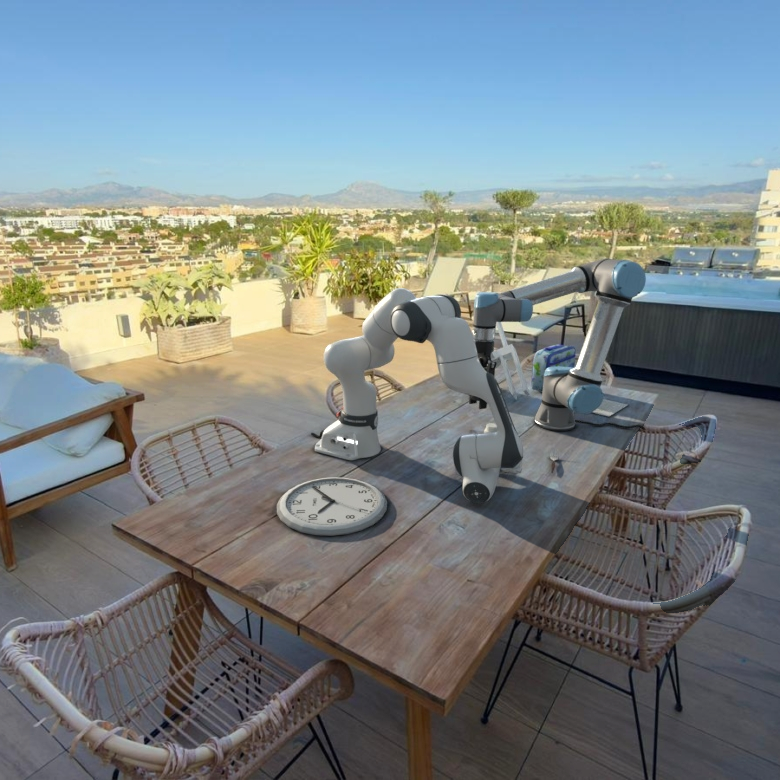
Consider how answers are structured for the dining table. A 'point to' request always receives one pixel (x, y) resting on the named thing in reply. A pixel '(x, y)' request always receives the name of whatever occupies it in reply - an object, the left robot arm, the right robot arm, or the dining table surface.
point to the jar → (491, 428)
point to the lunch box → (550, 362)
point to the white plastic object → (505, 355)
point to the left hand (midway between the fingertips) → (490, 450)
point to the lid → (474, 398)
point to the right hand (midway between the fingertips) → (477, 405)
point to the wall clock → (331, 506)
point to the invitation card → (609, 407)
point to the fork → (554, 460)
